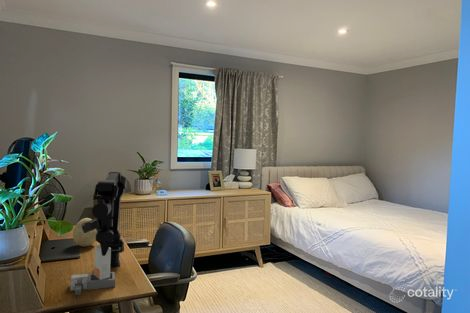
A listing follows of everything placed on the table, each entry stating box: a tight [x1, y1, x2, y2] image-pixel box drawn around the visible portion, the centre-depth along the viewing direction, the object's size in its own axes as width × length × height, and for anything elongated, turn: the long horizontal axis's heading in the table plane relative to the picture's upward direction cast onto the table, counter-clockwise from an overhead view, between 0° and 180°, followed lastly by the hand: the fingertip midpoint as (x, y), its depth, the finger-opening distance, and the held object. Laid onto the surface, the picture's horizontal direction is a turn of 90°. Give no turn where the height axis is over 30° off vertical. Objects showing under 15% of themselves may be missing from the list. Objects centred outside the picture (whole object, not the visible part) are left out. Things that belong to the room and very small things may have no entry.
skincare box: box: [93, 244, 111, 280], centre depth 135 cm, size 6×4×12 cm
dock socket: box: [86, 271, 116, 291], centre depth 136 cm, size 8×10×3 cm
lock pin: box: [74, 280, 83, 296], centre depth 131 cm, size 11×2×3 cm, turn 21°
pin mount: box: [69, 273, 89, 292], centre depth 132 cm, size 6×6×4 cm
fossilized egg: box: [72, 217, 97, 248], centre depth 181 cm, size 13×13×15 cm
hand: (104, 251), depth 135 cm, fingers open, 9 cm apart
